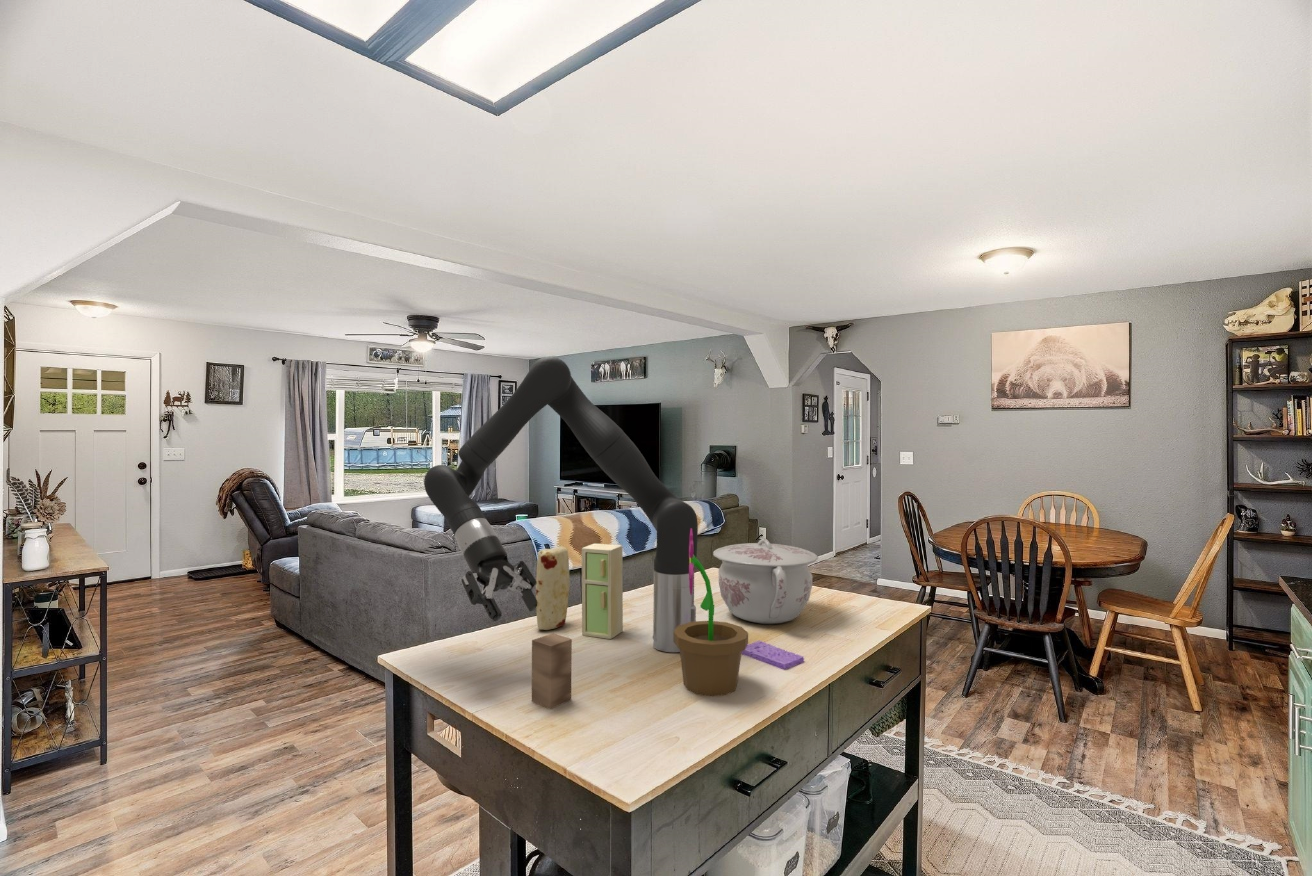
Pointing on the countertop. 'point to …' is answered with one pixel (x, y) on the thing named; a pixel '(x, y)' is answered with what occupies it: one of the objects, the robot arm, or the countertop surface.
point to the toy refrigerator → (602, 590)
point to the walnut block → (551, 670)
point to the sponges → (772, 655)
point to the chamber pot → (765, 580)
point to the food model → (552, 587)
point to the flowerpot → (709, 646)
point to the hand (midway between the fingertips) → (516, 613)
